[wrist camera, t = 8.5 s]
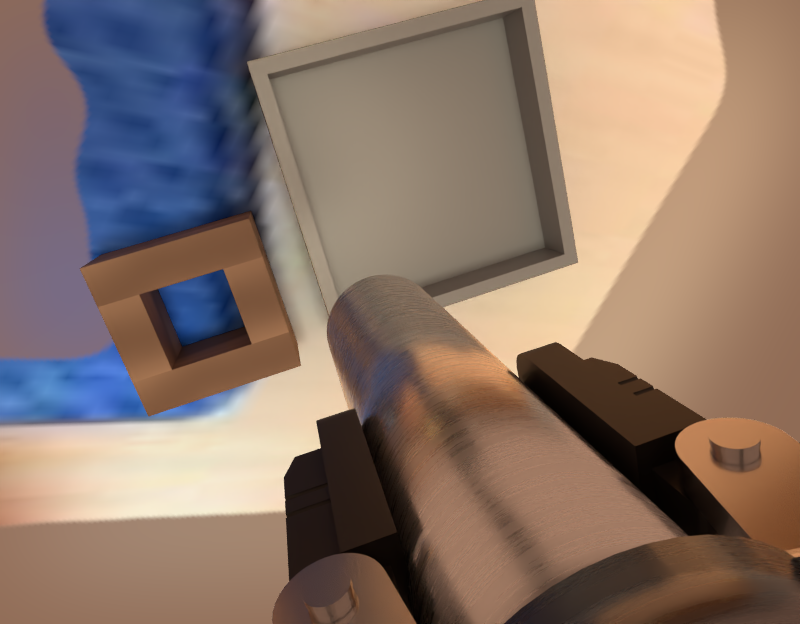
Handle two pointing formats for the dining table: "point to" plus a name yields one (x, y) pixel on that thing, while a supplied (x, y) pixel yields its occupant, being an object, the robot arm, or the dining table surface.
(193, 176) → the dining table surface
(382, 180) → the tray
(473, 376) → the lock pin
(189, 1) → the dining table surface
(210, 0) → the dining table surface
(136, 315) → the pin holder
